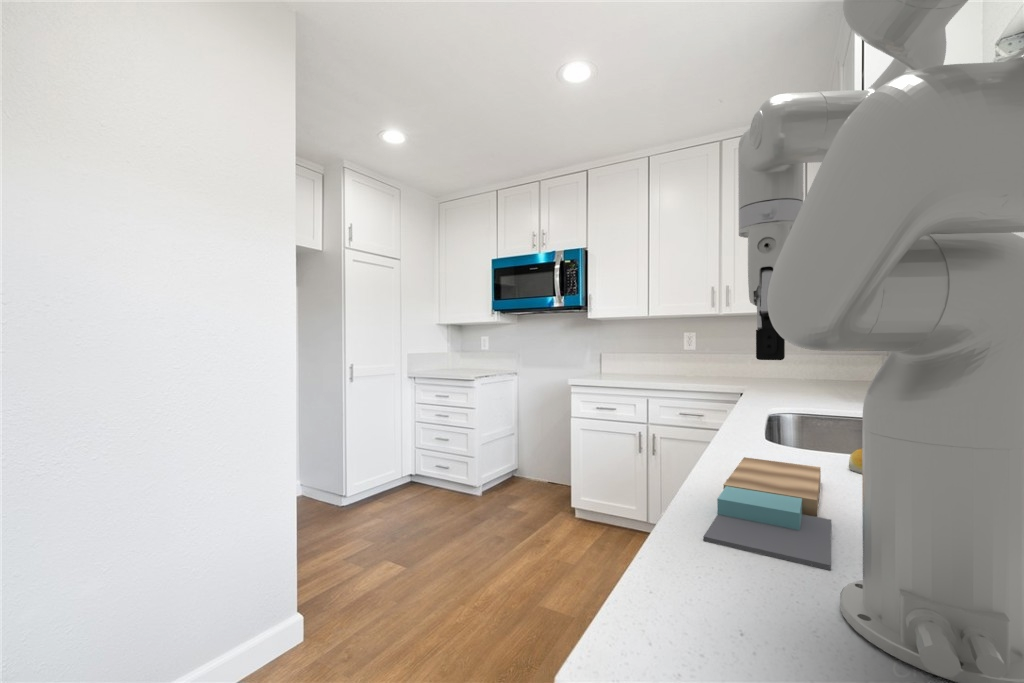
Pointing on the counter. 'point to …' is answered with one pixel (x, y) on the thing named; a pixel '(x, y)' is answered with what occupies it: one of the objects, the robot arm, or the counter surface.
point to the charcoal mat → (776, 539)
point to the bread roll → (856, 461)
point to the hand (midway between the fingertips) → (770, 359)
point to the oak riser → (779, 480)
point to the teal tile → (760, 507)
